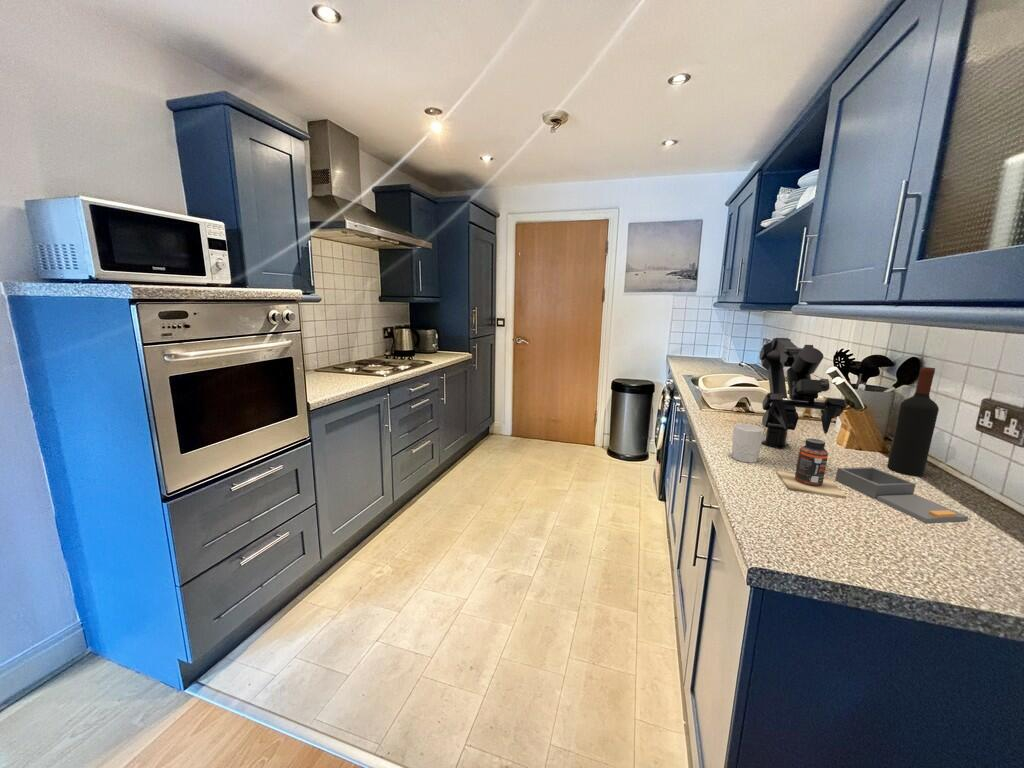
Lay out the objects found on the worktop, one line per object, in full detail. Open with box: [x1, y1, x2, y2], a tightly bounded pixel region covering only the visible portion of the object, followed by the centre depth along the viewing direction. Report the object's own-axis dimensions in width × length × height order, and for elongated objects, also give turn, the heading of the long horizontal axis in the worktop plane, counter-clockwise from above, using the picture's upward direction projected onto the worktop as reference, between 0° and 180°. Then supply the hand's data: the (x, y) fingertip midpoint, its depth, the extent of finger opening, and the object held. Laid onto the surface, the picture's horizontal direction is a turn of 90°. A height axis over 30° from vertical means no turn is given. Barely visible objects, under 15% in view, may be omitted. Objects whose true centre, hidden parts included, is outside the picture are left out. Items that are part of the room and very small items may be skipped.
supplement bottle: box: [794, 437, 829, 486], centre depth 104 cm, size 6×6×11 cm
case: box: [835, 466, 969, 524], centre depth 98 cm, size 22×11×4 cm, turn 7°
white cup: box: [731, 423, 765, 464], centre depth 121 cm, size 8×8×10 cm
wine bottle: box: [886, 366, 940, 477], centre depth 113 cm, size 8×8×30 cm
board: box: [775, 469, 847, 499], centre depth 105 cm, size 12×12×1 cm
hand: (806, 430), depth 110 cm, fingers open, 9 cm apart
